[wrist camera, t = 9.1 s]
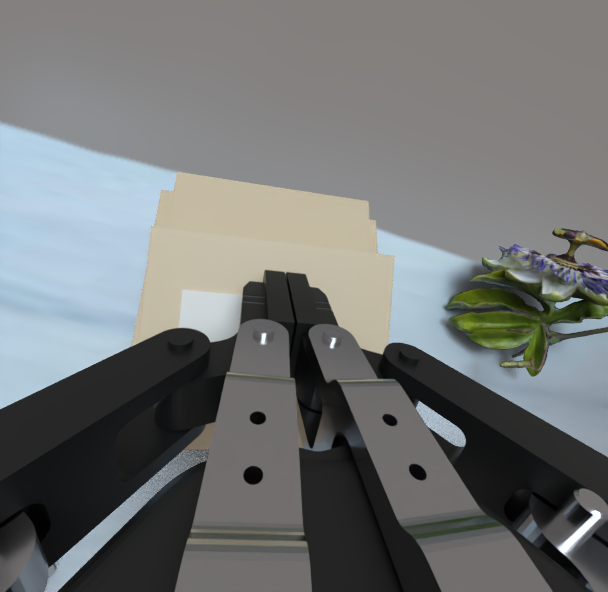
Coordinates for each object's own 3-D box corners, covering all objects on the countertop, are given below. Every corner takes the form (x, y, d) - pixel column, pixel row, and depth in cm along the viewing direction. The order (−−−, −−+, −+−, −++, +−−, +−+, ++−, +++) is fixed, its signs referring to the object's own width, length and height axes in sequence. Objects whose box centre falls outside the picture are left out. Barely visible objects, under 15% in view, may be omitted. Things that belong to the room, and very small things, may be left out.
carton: (326, 275, 27) (382, 201, 17) (326, 430, 24) (398, 450, 14) (187, 260, 25) (159, 166, 15) (162, 429, 21) (103, 452, 11)
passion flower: (463, 295, 36) (595, 242, 30) (503, 393, 31) (672, 357, 25) (419, 261, 29) (581, 179, 22) (461, 384, 24) (689, 327, 17)
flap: (386, 258, 14) (395, 255, 14) (373, 440, 14) (382, 449, 13) (156, 231, 13) (150, 225, 12) (135, 440, 12) (127, 451, 11)
